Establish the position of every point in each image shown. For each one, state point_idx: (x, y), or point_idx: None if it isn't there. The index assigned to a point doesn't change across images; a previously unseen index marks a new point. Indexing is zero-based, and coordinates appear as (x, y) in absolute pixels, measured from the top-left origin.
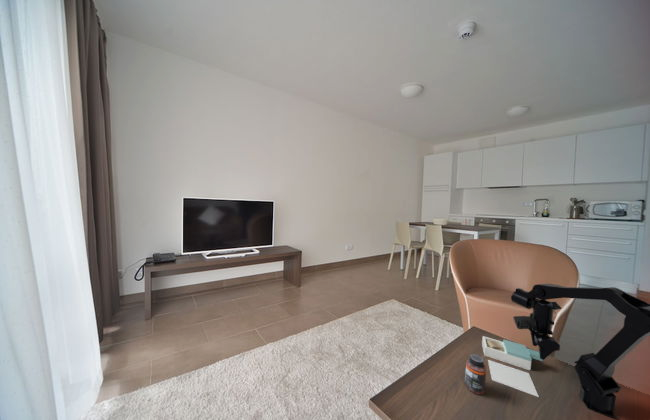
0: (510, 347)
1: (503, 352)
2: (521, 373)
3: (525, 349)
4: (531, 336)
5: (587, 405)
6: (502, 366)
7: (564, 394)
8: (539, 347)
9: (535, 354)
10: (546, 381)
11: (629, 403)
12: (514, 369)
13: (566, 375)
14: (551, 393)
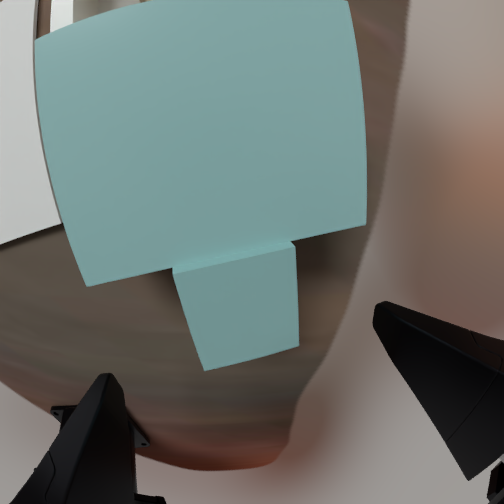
0: (172, 46)
1: (56, 16)
2: (17, 182)
3: (272, 224)
4: (459, 340)
5: (60, 412)
6: (8, 65)
7: (57, 363)
8: (25, 500)
9: (206, 323)
10: (85, 309)
11: (222, 461)
12: (27, 135)
13: (255, 375)
14: (6, 319)
